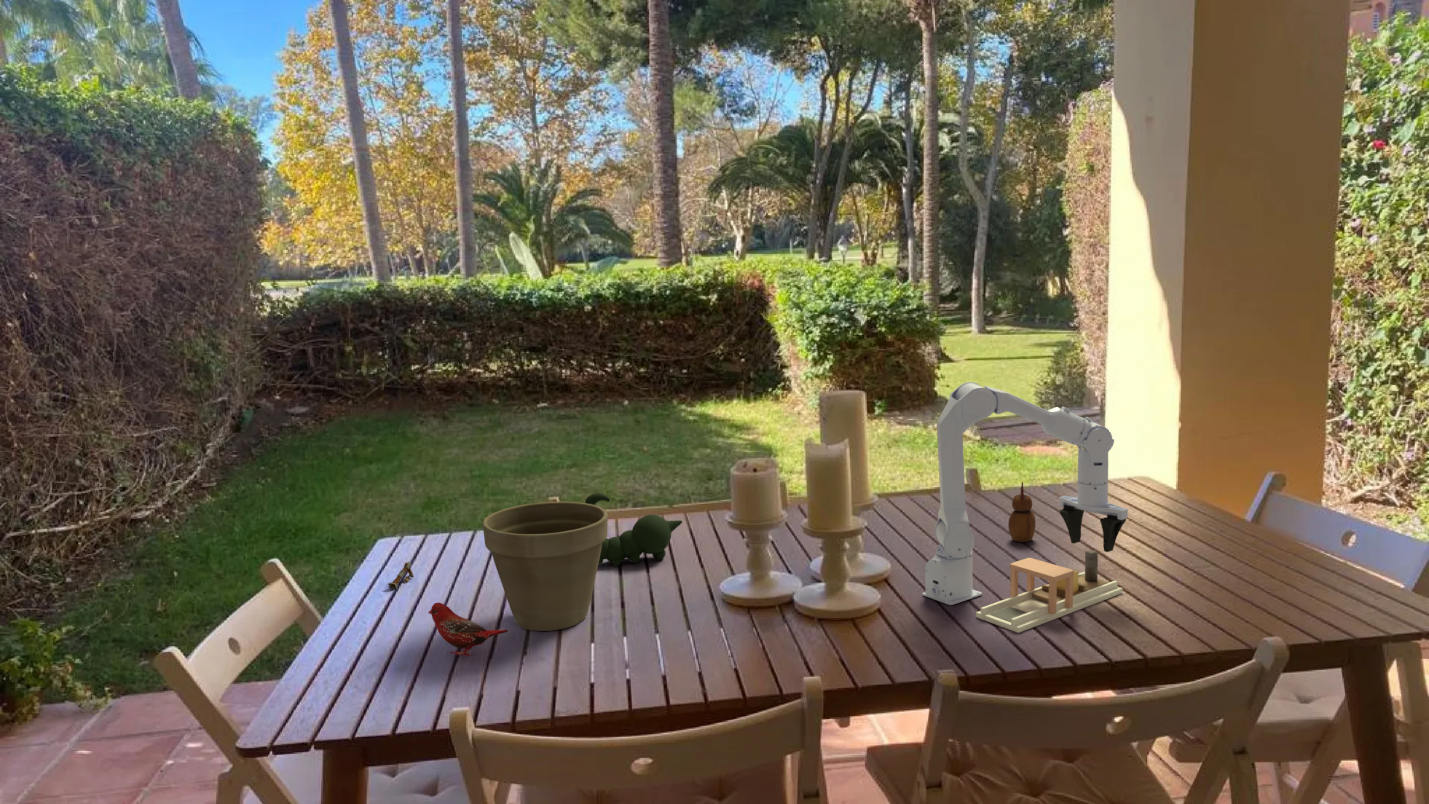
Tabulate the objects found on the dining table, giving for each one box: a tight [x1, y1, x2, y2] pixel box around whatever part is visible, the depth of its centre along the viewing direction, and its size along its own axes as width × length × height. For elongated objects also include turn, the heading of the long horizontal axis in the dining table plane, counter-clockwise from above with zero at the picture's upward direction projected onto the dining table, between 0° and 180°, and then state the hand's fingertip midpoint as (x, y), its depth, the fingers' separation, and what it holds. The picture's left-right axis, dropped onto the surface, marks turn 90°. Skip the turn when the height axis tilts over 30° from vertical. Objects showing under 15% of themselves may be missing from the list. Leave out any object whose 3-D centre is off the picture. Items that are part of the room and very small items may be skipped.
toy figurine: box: [584, 492, 683, 568], centre depth 223 cm, size 9×19×25 cm
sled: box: [1032, 549, 1109, 603], centre depth 187 cm, size 16×6×7 cm, turn 123°
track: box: [975, 557, 1123, 634], centre depth 184 cm, size 32×10×8 cm, turn 123°
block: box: [1057, 566, 1079, 592], centre depth 186 cm, size 4×4×4 cm
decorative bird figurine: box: [428, 602, 509, 657], centre depth 172 cm, size 3×18×10 cm, turn 69°
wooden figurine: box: [1007, 481, 1037, 543], centre depth 225 cm, size 7×6×15 cm
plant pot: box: [482, 501, 609, 632], centre depth 188 cm, size 25×25×22 cm
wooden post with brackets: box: [387, 561, 415, 590], centre depth 216 cm, size 2×8×4 cm, turn 163°
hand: (1091, 546), depth 190 cm, fingers open, 7 cm apart
